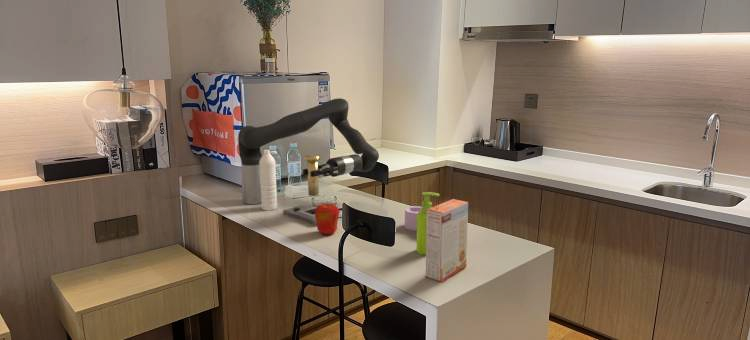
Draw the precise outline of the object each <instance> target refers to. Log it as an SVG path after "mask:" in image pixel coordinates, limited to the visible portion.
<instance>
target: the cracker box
mask: <svg viewBox="0 0 750 340" xmlns="http://www.w3.org/2000/svg"><path fill="white" fill-rule="evenodd" d="M468 216H469V201H464V200H459V199H456V198H452V199H449V200H447V201H444V202H442V203H440V204H437V205H434V206H432V208H429V209H427V210H426V255H425V277H426V278H429V279H430V280H435V281H437V282H439V283H441V282H444V281H445V280H447V279H449V278H450V277H452V276H453V275H456V274H457V273H459V272H460V271H461V270H463V269H465V268H467V256H468V255H467V254H468V253H467V252H468V251H467V250H468V249H467V248H468V223H469V221H468V220H469V219H468Z"/></svg>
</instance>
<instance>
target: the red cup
mask: <svg viewBox="0 0 750 340" xmlns="http://www.w3.org/2000/svg"><path fill="white" fill-rule="evenodd" d="M316 207H317V208H316V210H315V218H316V222H317V225H316V229H317V231H319V232H320V233H321V234H322V235H328V236H329V235H333V234H335V233H336V232H337V230H338V220H339V216H340V209H339V208H338V206H337V205H335V204H333V203H328V202H326V203H321V204H318V205H317V206H316Z"/></svg>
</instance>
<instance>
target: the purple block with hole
mask: <svg viewBox="0 0 750 340" xmlns="http://www.w3.org/2000/svg"><path fill="white" fill-rule="evenodd" d="M409 208H410V209H408V208H404V228H405V229H406V228H407V229H406V230H409V231H416V232H417V213H418V212H420V211H421V206H418V205H417V206H416V205H413V206H412V205H411V206H410V207H409Z"/></svg>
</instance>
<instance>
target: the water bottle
mask: <svg viewBox="0 0 750 340" xmlns="http://www.w3.org/2000/svg"><path fill="white" fill-rule="evenodd" d="M275 154H276V155H277V154H278V152H277V150H270V149H264V150H263V154H262V157H261V159H260V162H259V165H260V184H261V202H262V203H260V204H261V210H264V211H274V210H277V209H278V198H277V197H278V193H277V191H278V189H277V171H276V170H277V169H276V168H277V167H276V160H275V158H274V157H273V156H272V155H275Z"/></svg>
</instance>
